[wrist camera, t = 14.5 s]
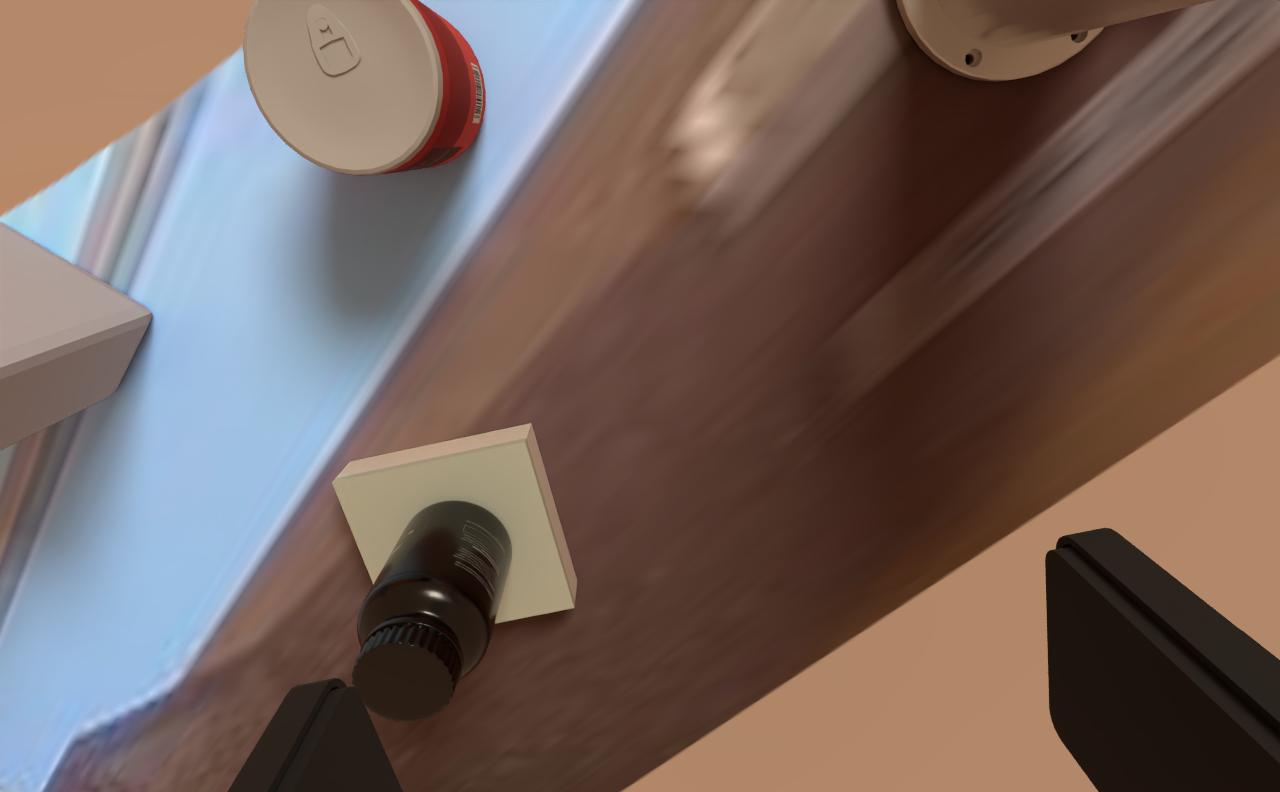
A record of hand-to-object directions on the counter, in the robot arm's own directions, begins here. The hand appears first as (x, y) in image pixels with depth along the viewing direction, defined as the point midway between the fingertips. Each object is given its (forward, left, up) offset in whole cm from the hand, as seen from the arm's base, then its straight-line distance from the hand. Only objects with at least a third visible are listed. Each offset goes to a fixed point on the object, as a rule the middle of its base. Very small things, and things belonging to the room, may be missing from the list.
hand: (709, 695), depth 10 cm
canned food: (+10, -12, -34) cm, 38 cm away
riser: (+15, +14, -34) cm, 40 cm away
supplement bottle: (+15, +14, -32) cm, 38 cm away
